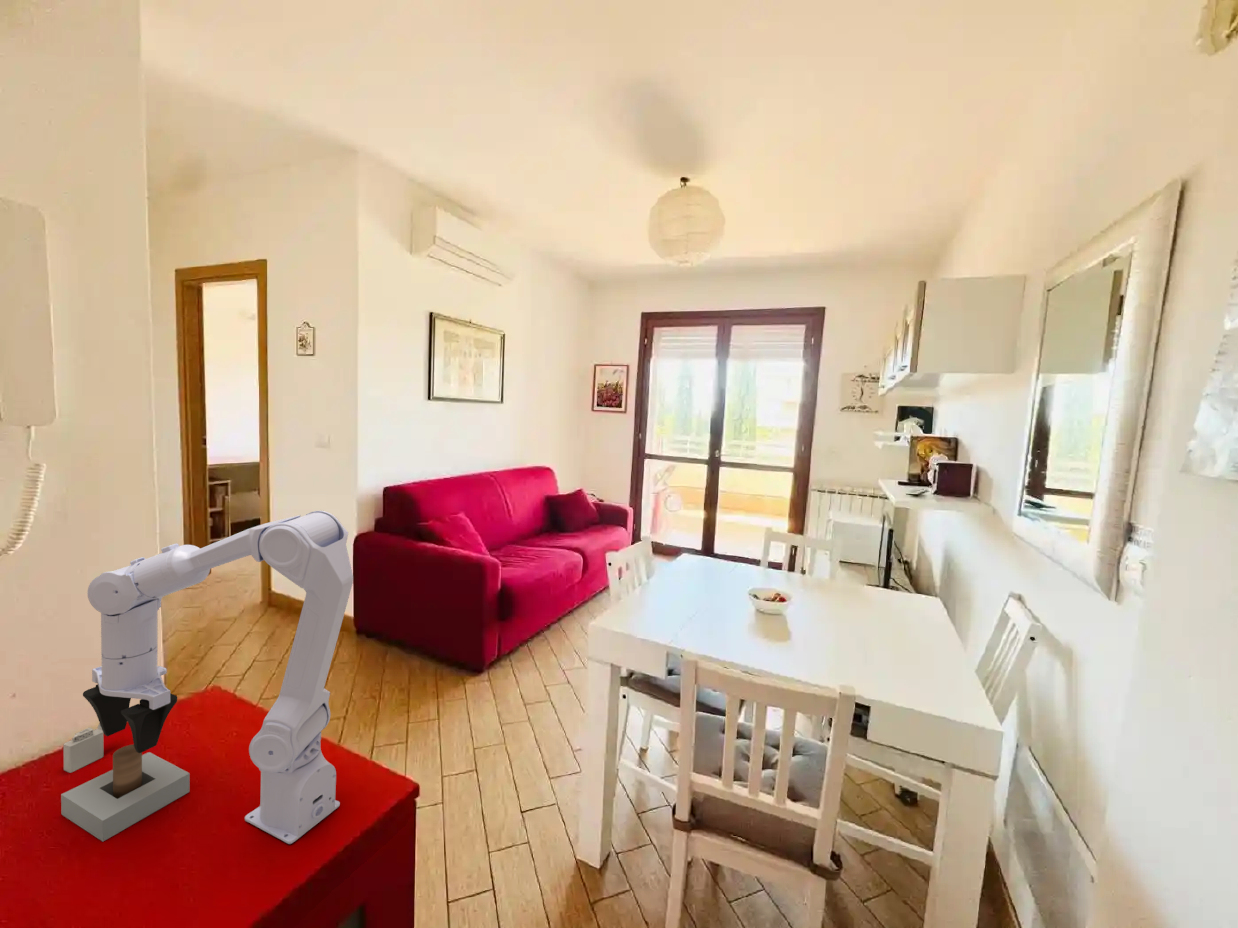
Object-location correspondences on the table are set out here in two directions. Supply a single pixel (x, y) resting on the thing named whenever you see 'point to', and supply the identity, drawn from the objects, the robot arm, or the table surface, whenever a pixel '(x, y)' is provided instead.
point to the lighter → (83, 749)
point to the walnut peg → (126, 771)
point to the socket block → (124, 798)
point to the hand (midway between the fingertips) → (130, 740)
